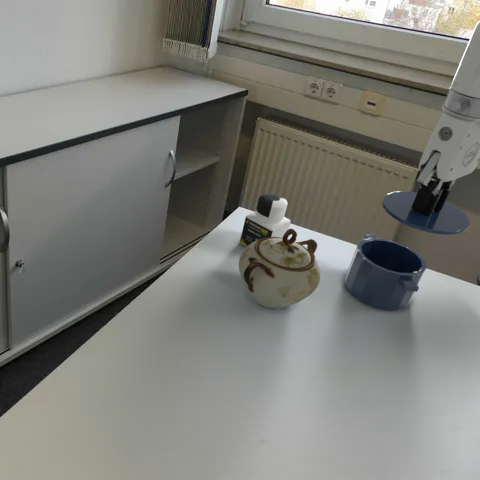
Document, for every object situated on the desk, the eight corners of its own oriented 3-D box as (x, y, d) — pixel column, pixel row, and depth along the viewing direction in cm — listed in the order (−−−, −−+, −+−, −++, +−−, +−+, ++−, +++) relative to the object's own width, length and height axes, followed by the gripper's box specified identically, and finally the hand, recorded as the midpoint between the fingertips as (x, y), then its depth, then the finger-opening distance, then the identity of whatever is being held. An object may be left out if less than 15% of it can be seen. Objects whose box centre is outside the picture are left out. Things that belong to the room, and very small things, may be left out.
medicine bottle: (238, 242, 121) (250, 195, 114) (257, 233, 125) (269, 187, 118) (265, 257, 117) (278, 209, 110) (283, 247, 121) (297, 200, 114)
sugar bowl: (275, 261, 116) (293, 200, 107) (333, 301, 106) (358, 237, 97) (208, 290, 105) (222, 224, 97) (265, 336, 95) (286, 267, 87)
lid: (437, 198, 98) (450, 170, 95) (484, 239, 87) (501, 208, 84) (367, 195, 97) (377, 167, 94) (405, 236, 86) (418, 205, 83)
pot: (385, 265, 118) (399, 232, 113) (428, 320, 103) (447, 285, 98) (330, 263, 117) (342, 229, 112) (365, 318, 102) (381, 283, 97)
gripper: (470, 120, 75) (419, 232, 85) (523, 106, 83) (471, 209, 93) (420, 103, 80) (378, 210, 90) (474, 91, 88) (430, 191, 98)
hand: (425, 209), depth 91 cm, fingers closed on lid, 2 cm apart
